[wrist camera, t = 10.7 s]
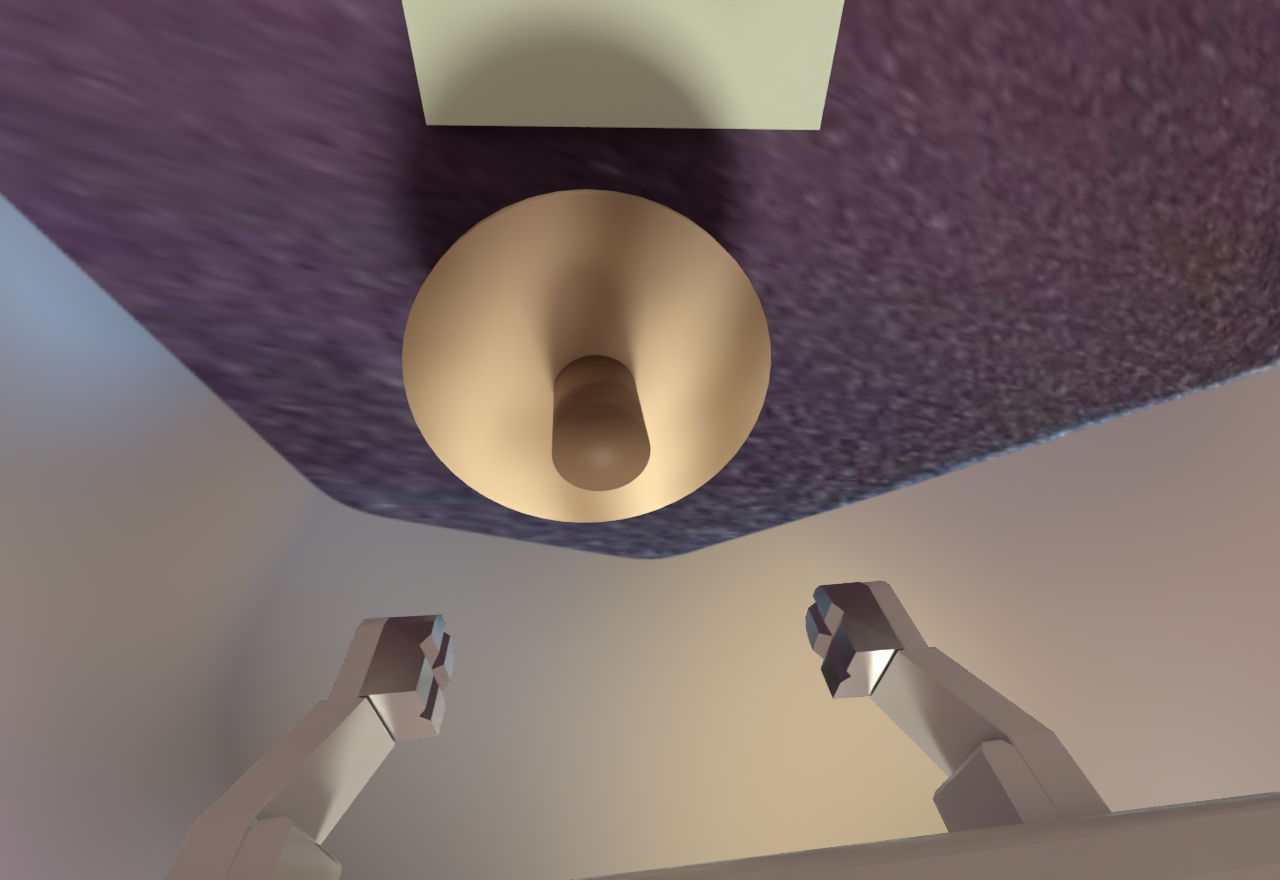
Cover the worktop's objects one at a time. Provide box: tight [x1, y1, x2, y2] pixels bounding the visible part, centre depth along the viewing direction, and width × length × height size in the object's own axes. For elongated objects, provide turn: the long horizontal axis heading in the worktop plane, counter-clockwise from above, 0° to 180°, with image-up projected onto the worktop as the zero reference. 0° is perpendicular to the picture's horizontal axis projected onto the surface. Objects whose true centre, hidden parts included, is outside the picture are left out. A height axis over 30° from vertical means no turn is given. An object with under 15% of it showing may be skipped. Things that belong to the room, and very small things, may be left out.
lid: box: [402, 189, 771, 523], centre depth 18 cm, size 14×14×5 cm
